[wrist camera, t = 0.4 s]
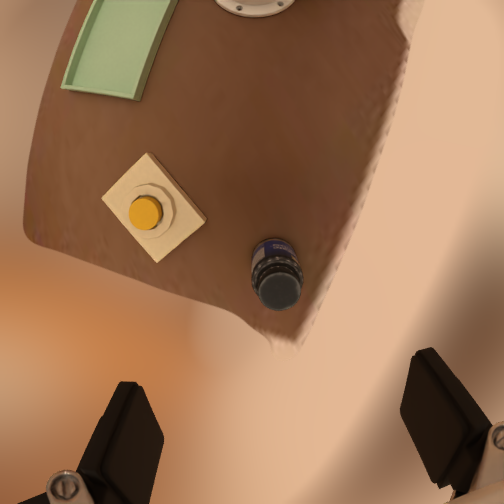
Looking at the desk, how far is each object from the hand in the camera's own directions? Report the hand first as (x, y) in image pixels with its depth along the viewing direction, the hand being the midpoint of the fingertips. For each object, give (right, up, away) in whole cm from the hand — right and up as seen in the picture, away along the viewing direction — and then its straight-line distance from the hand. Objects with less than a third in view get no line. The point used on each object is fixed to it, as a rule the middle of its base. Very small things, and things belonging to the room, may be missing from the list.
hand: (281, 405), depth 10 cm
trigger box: (-14, +11, +32) cm, 37 cm away
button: (-14, +10, +29) cm, 34 cm away
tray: (-19, +35, +24) cm, 47 cm away
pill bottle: (+2, +4, +35) cm, 35 cm away
